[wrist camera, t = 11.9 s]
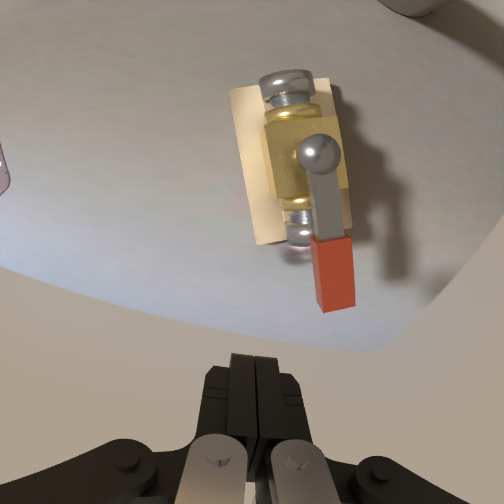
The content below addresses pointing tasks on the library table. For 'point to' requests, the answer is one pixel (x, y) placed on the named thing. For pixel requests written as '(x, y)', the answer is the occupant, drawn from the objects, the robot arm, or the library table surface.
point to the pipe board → (247, 131)
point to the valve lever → (327, 224)
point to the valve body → (293, 146)
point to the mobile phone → (3, 174)
